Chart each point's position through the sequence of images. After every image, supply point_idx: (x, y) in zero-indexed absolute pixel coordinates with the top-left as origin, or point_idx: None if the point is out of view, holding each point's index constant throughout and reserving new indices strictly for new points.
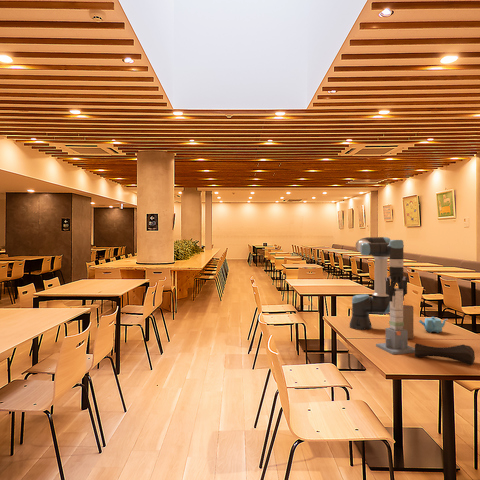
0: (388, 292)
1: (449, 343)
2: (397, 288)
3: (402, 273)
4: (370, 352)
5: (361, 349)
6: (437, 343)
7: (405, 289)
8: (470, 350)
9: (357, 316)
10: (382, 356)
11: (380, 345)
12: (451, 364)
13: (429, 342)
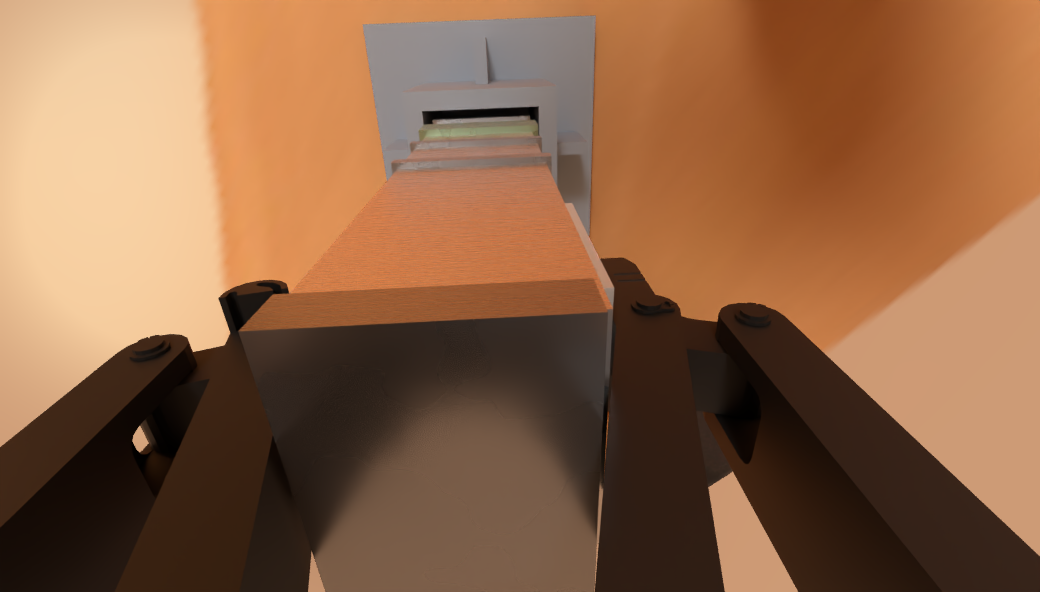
0: (148, 482)
1: (982, 75)
2: (496, 499)
3: None
4: (264, 171)
5: (216, 87)
6: (899, 55)
7: (757, 506)
8: (726, 475)
9: None
10: (316, 260)
11: (377, 85)
12: (608, 418)
13: (869, 11)
